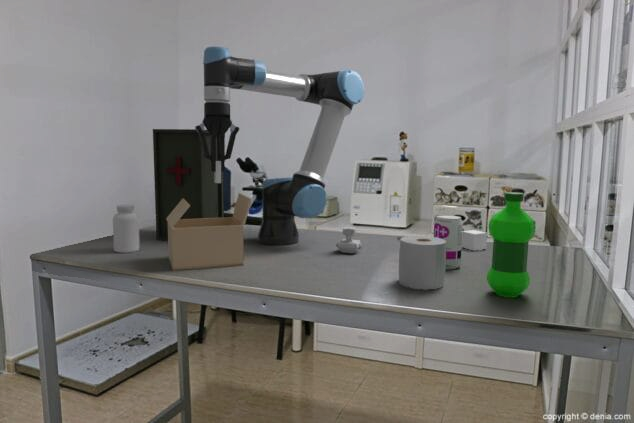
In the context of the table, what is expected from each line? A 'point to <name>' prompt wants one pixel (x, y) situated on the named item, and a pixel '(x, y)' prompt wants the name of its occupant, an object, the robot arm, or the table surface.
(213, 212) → the first aid box
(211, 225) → the carton
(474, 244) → the white cube
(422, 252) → the toilet paper roll
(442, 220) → the supplement can
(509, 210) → the plastic bottle
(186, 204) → the flap
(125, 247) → the pill bottle
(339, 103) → the robot arm
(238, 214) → the flap
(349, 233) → the stamp
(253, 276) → the table surface
